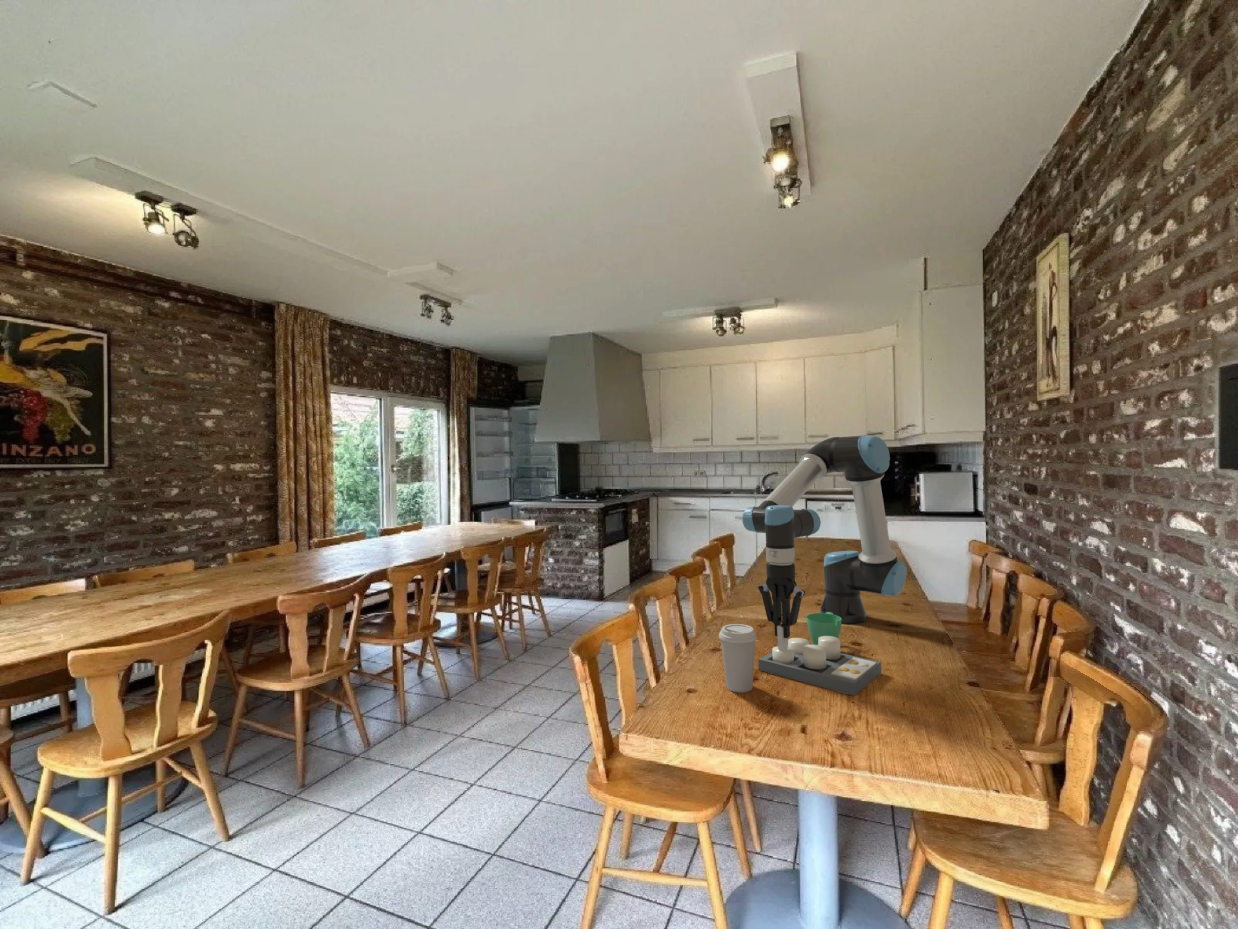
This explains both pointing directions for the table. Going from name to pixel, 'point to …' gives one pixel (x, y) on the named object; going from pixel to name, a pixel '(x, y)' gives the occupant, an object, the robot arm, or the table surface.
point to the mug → (823, 625)
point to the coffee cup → (738, 656)
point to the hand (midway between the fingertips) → (782, 648)
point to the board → (827, 672)
